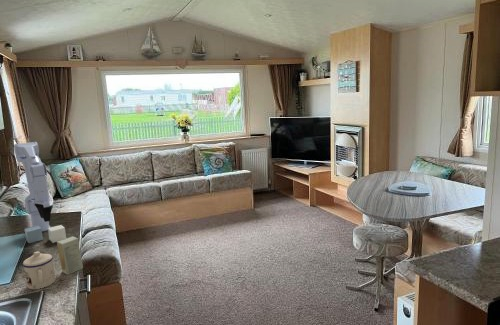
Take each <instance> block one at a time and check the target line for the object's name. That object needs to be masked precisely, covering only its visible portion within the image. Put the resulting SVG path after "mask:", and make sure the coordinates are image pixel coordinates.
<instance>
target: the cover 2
mask: <svg viewBox="0 0 500 325" xmlns="http://www.w3.org/2000/svg"><path fill="white" fill-rule="evenodd" d="M50 227H51V228H48V230H47V232H48V239H49V241H50V242H51V243H52V244H55V243H57V242H58V241H61V240H64V239H66V238H67V234H66V229H65V228H66V227H64V226H63V225H62V224H60V225H55V226H50Z"/></svg>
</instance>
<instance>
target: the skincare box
mask: <svg viewBox="0 0 500 325" xmlns="http://www.w3.org/2000/svg"><path fill="white" fill-rule="evenodd" d="M56 246H57V249H58V256H59V262H60V267H61V272H62V273H63V274H65V275H71V274H73V273H75V272H77V271H78V272H79V270H82V269H83V268H84V266H83V259H82V254H81V248H80V242H79V238H78V237H75V236H70V237H66V239H64V240H61V241H58V242H56Z"/></svg>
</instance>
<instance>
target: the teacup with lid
mask: <svg viewBox="0 0 500 325" xmlns="http://www.w3.org/2000/svg"><path fill="white" fill-rule="evenodd" d="M53 259H54V257H53V255H52V254H50V253H41V252H40V251H35V252H33V254H32V255H31V256H30V257H28V258H26V259H25V260H23V263H22V266H23V269H24V274H25V275H24V277H25V281H26V287H27V288H28V289H30V290H40V288H41V289H44V287H45V288H47V287H50V286H51V285H53V284H54V283H55V281H56V275H55V268H54V262H53Z"/></svg>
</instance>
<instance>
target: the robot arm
mask: <svg viewBox="0 0 500 325" xmlns="http://www.w3.org/2000/svg"><path fill="white" fill-rule="evenodd" d="M13 148H14V154H15V157H16V158H15V159H16V160H17V162H18V163H22V166H23V169H24V173H25V177H26V183H27V188H28V192H29V194H28V195H27V196H26V197H25V199H24V205H25V211H26V213H27V215H30V222H31V227H34V226H39V227H40V228H41V230H42V232H46V231H48V228H51V227H52V226H51V225H50V222H51V217H52V216H51V214H52V211H53V208H54V207H53V206H54V205H50V202H51V198H50V194H49V193H50V192H49V187H48V181H47V176H48V173H47V172H48V170H47V166H46V164H45V162H42V160H41V157H39V155H40V149H39V148H40V147H39V144H38V142H37V141H32V142H22V143H21V142H20V143H15V144H14V145H13Z"/></svg>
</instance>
